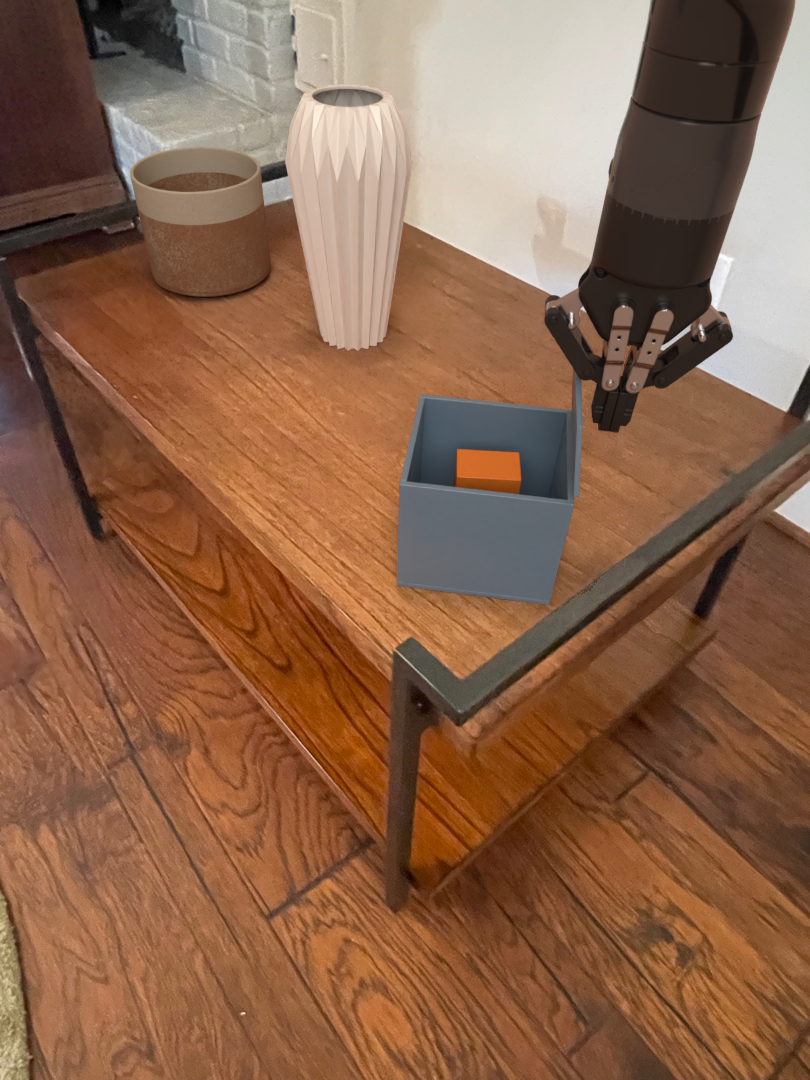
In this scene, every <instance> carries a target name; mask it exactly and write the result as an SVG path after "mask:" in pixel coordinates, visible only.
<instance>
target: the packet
mask: <svg viewBox="0 0 810 1080" xmlns="http://www.w3.org/2000/svg"><path fill="white" fill-rule="evenodd" d="M521 481H522V480H521V468H520V456H519V452H503V451H485V450H467V449H457V453H456V463H455V474H454V484H453V487H460V488H469V489H477V490H486V491H494V492H503V493H512V494H519V492H520V486H521Z"/></svg>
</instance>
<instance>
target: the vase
mask: <svg viewBox="0 0 810 1080" xmlns="http://www.w3.org/2000/svg"><path fill="white" fill-rule="evenodd" d="M412 157H413V155H412V150H411V145H410V139H409V134H408V129H407V125H406V123H405V121H404V119H403V116H402V114H401V112H400V109H399V108H398V105H397V103H396V101H395V98H394V97H393V95H392V94H390V93H389V92H388V90H384V89H383V90H382V89H381V88H380V87H372V86H371V87H370V85H368V84H363V85H359V84H357V83H351V84H346V83H339V84H331V83H330V84H327V86H324V85H322V86H321V85H317V87H316V88H309V89H308V90H307V92H303V94H302V95H301V98H300V101H299V103H298V105H297V107H296V110H295V112H294V115H293V116H292V119H291V121H290V125H289V130H288V137H287V145H286V152H285V159H284V162H285V167H286V172H287V177H288V182H289V187H290V192H291V198H292V202H293V208H294V212H295V217H296V221H297V227H298V230H299V232H298V233H299V238H300V241H301V247H302V251H303V256H304V257H303V258H304V261H305V262H304V263H305V266H306V271H307V276H308V280H309V286H310V290H311V295H312V300H313V305H314V311H315V315H316V320H317V324H318V329H319V333H320V337H322V339H323V342H324V343H328V346H329V347H334V346H336V348H337V350H341V349H345V350H346V352H349V351H351V350H355V351H356V352H359V351H361V349H364V350H369V349H370V347H377V346H378V343H384V338H386V337H387V331H388V326H389V319H390V314H391V313H390V312H391V307H392V300H393V293H394V288H395V287H394V286H395V280H396V274H397V269H398V268H397V267H398V262H399V261H398V260H399V254H400V249H401V248H400V247H401V241H402V236H403V229H404V221H405V217H406V208H407V202H408V195H409V189H410V183H411V177H412V176H411V175H412V170H413V169H412V168H413V159H412Z"/></svg>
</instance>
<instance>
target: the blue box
mask: <svg viewBox="0 0 810 1080" xmlns="http://www.w3.org/2000/svg"><path fill="white" fill-rule="evenodd" d="M457 449H467V450H485V451H503V452H519V456H520V468H521V480H522V481H521V486H520V492H519V494H512V493H503V492H494V491H486V490H477V489H469V488H460V487H453V484H454V474H455V463H456V453H457ZM574 509H575V497H573V451H572V409H566V408H565V409H564V408H556V407H546V406H537V405H529V404H518V403H510V402H499V401H490V400H479V399H472V398H462V397H454V396H453V397H452V396H444V395H434V394H423V393H420V394H419V397H418V402H417V405H416V409H415V415H414V419H413V423H412V428H411V432H410V436H409V441H408V445H407V449H406V454H405V457H404V463H403V466H402V471H401V476H400V480H399V485H398V518H397V520H398V521H397V524H398V525H397V549H396V550H397V552H396V553H397V555H396V583H395V584H396V586H397V587H403V588H404V587H405V588H411V589H420V590H428V591H435V592H444V593H450V594H457V595H458V594H459V595H467V596H474V597H483V598H491V599H497V600H506V601H515V602H521V603H528V604H529V603H530V604H538V605H543V606H545V605H546V606H549V605H550V603H551V599H552V594H553V590H554V586H555V583H556V579H557V575H558V570H559V567H560V564H561V560H562V555H563V552H564V548H565V544H566V540H567V535H568V531H569V528H570V524H571V521H572V515H573V513H574Z"/></svg>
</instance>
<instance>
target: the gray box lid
mask: <svg viewBox="0 0 810 1080" xmlns="http://www.w3.org/2000/svg"><path fill="white" fill-rule="evenodd" d="M571 380H572V382H571V383H572V384H571V410H572V451H573V497H574V498H580V489H581V487H580V485H581V484H580V483H581V467H582V451H583V450H582V449H583V433H584V431H583V429H584V423H583V421H584V420H583V419H584V418H583V417H584V416H583V393H582V380H581V379H580V378H579V377H578V375H577V374H576V372H575V371H574V369H573V368H572V379H571Z"/></svg>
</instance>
